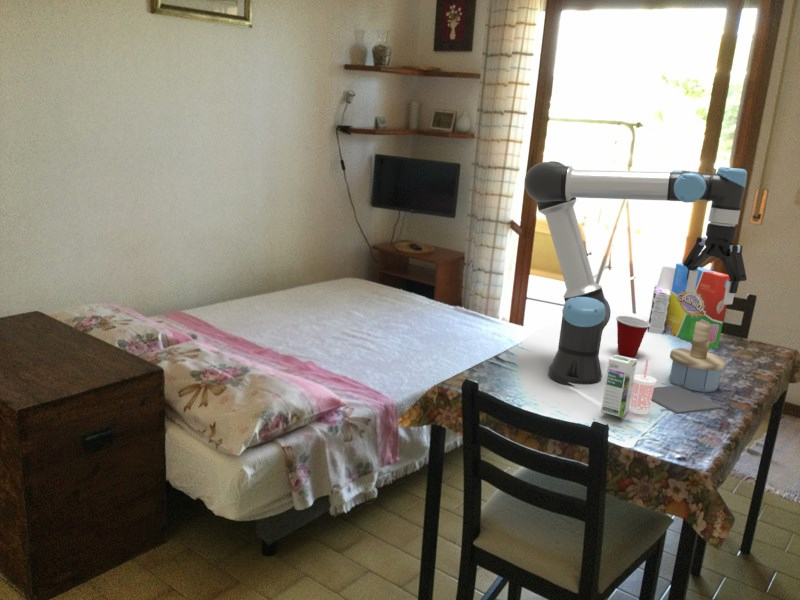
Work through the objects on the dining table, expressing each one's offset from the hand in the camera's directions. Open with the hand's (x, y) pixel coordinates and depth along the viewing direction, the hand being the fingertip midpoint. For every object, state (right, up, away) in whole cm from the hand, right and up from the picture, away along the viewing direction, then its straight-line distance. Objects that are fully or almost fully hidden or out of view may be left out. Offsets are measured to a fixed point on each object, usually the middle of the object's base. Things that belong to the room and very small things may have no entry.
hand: (708, 298), depth 194 cm
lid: (-1, -19, +4) cm, 19 cm away
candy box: (+8, -13, +61) cm, 63 cm away
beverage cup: (-26, -30, -18) cm, 43 cm away
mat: (-12, -28, -8) cm, 31 cm away
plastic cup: (-13, -19, +30) cm, 38 cm away
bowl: (-2, -25, +6) cm, 26 cm away
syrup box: (-33, -29, -20) cm, 48 cm away
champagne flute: (+10, -12, +65) cm, 66 cm away
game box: (+16, -16, +49) cm, 54 cm away
